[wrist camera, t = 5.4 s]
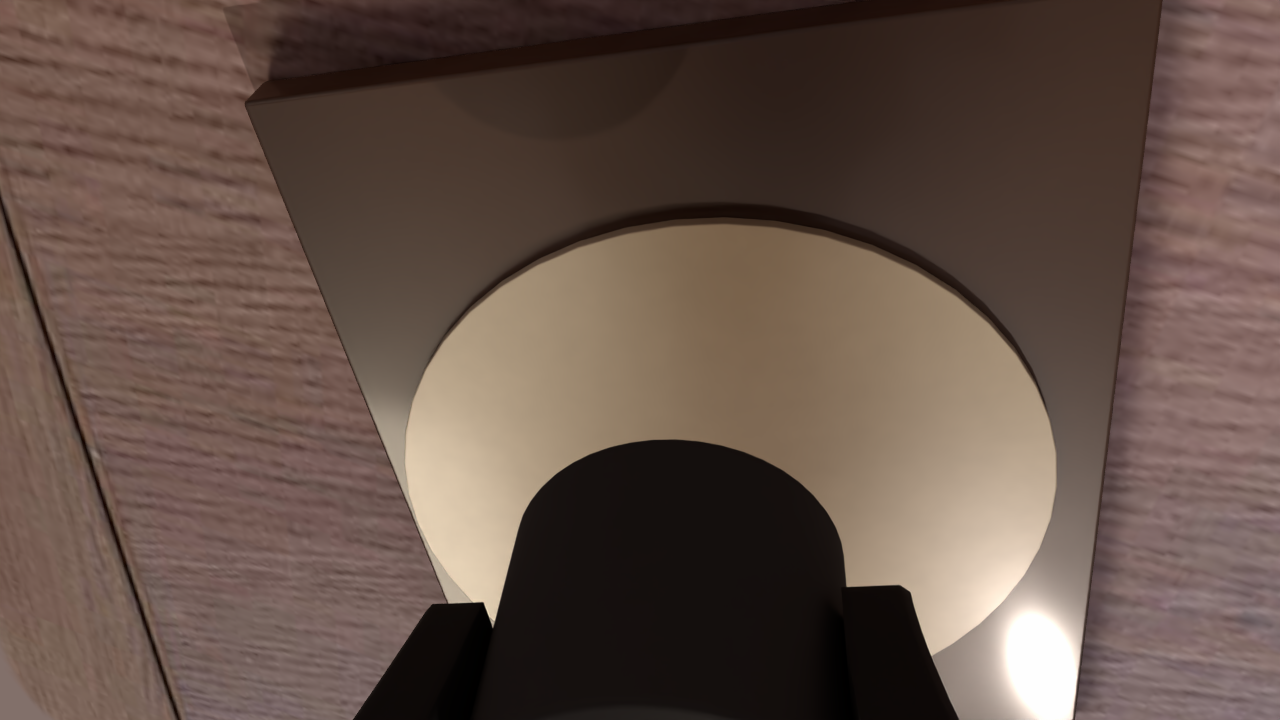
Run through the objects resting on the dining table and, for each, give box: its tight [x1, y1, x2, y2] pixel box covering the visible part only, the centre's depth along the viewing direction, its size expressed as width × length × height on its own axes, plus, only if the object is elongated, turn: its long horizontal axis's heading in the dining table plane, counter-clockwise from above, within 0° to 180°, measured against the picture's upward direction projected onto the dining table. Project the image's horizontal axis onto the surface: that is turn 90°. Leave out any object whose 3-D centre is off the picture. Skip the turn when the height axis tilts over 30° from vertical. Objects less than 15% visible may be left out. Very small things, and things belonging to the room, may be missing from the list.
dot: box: [470, 439, 853, 720], centre depth 12 cm, size 4×4×4 cm
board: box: [245, 0, 1163, 720], centre depth 18 cm, size 12×16×1 cm
